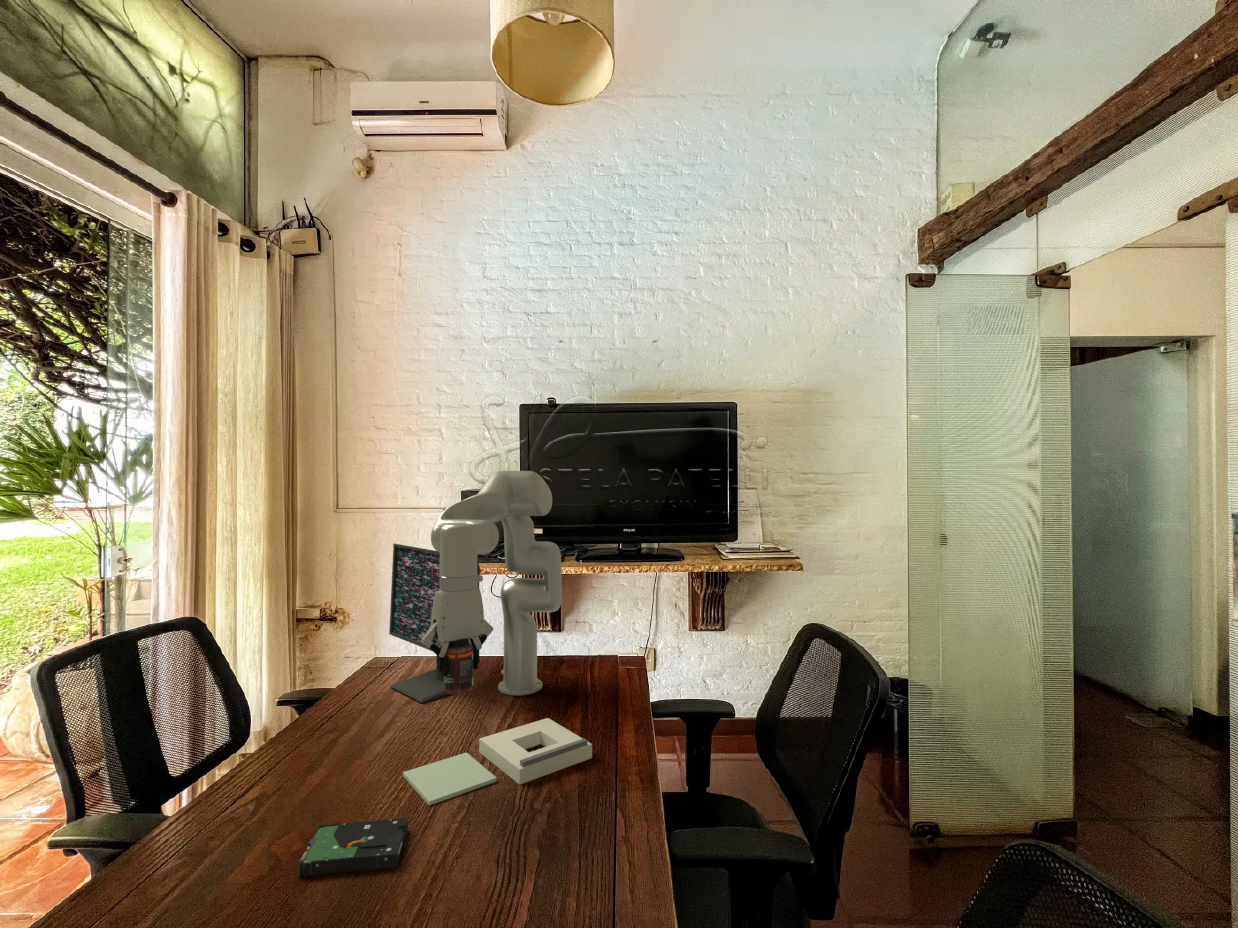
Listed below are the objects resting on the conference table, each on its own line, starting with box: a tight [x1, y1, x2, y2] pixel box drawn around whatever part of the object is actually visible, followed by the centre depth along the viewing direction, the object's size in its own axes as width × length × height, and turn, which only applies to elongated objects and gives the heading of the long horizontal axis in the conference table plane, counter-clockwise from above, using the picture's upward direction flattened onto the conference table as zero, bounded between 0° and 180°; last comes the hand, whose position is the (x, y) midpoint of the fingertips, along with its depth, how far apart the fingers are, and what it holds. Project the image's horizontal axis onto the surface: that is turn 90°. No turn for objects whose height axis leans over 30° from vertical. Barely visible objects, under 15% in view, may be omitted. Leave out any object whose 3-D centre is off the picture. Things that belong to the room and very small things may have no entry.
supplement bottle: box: [444, 638, 474, 695], centre depth 124 cm, size 6×6×11 cm
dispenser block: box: [478, 717, 593, 785], centre depth 134 cm, size 18×18×4 cm
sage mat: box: [402, 752, 498, 806], centre depth 123 cm, size 14×14×1 cm
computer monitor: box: [388, 543, 481, 704], centre depth 175 cm, size 44×16×40 cm, turn 47°
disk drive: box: [297, 817, 409, 877], centre depth 100 cm, size 10×3×15 cm
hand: (458, 670), depth 124 cm, fingers closed on supplement bottle, 6 cm apart
